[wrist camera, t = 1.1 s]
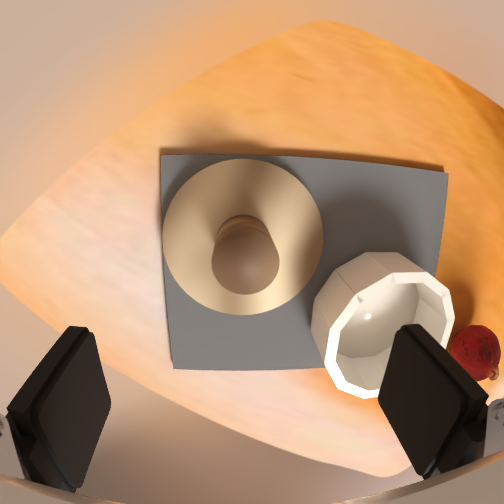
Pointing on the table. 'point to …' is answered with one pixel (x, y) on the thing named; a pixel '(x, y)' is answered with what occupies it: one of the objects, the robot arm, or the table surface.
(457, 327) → the table surface
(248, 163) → the lid
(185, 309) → the mat
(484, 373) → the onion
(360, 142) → the table surface
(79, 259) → the table surface
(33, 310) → the table surface
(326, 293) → the bowl
